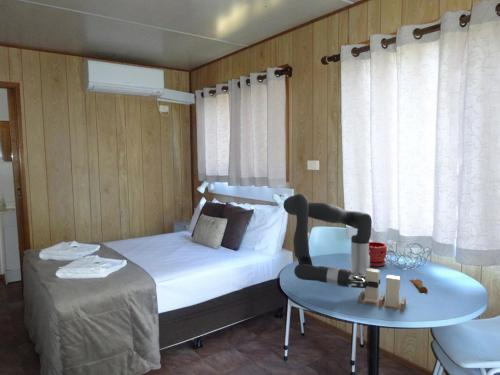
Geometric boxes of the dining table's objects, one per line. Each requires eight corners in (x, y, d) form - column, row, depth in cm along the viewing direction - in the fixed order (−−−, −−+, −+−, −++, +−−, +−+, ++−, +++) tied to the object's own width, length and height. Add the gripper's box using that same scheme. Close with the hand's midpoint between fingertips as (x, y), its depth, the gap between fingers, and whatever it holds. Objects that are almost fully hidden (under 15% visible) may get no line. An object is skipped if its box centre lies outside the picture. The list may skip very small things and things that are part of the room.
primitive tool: (408, 280, 184) (409, 273, 183) (420, 281, 183) (420, 274, 182) (419, 294, 165) (419, 287, 164) (432, 295, 164) (432, 288, 163)
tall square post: (386, 302, 152) (387, 274, 151) (399, 304, 150) (400, 276, 149) (385, 305, 149) (386, 277, 148) (398, 308, 146) (399, 279, 145)
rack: (362, 298, 159) (362, 289, 159) (405, 306, 151) (405, 297, 150) (358, 305, 152) (358, 295, 152) (403, 314, 144) (403, 303, 143)
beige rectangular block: (366, 294, 156) (367, 268, 155) (378, 297, 154) (379, 269, 152) (364, 298, 153) (365, 270, 151) (376, 300, 150) (377, 272, 149)
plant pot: (369, 259, 219) (370, 240, 218) (390, 264, 210) (390, 244, 209) (358, 264, 211) (358, 244, 210) (379, 269, 201) (379, 248, 200)
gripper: (334, 273, 153) (376, 280, 145) (343, 264, 165) (382, 270, 157) (334, 290, 154) (375, 298, 145) (342, 280, 166) (381, 287, 158)
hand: (378, 283), depth 151 cm, fingers closed on beige rectangular block, 4 cm apart
